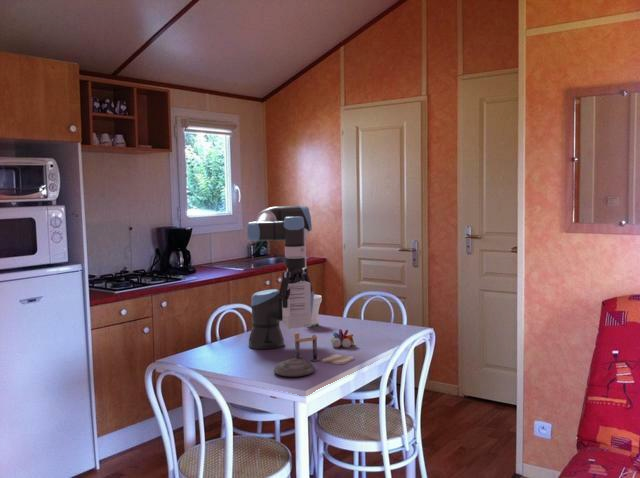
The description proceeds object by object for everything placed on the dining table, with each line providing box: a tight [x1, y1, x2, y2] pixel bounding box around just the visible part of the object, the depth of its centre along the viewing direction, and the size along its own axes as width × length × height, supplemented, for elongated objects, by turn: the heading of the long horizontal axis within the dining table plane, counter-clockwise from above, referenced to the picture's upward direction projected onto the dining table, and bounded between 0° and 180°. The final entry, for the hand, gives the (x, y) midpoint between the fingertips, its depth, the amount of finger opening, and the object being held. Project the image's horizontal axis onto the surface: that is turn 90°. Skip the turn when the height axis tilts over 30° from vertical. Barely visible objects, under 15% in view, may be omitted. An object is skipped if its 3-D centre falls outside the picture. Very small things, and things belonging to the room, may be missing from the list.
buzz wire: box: [292, 332, 321, 363], centre depth 235 cm, size 12×10×10 cm
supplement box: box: [282, 281, 312, 330], centre depth 232 cm, size 10×9×17 cm
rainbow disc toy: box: [330, 328, 355, 349], centre depth 256 cm, size 8×10×7 cm
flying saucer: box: [273, 357, 316, 378], centre depth 220 cm, size 15×15×6 cm
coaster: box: [321, 353, 355, 366], centre depth 235 cm, size 9×9×1 cm
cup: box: [311, 294, 323, 328], centre depth 297 cm, size 11×11×14 cm
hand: (296, 313), depth 233 cm, fingers closed on supplement box, 13 cm apart
